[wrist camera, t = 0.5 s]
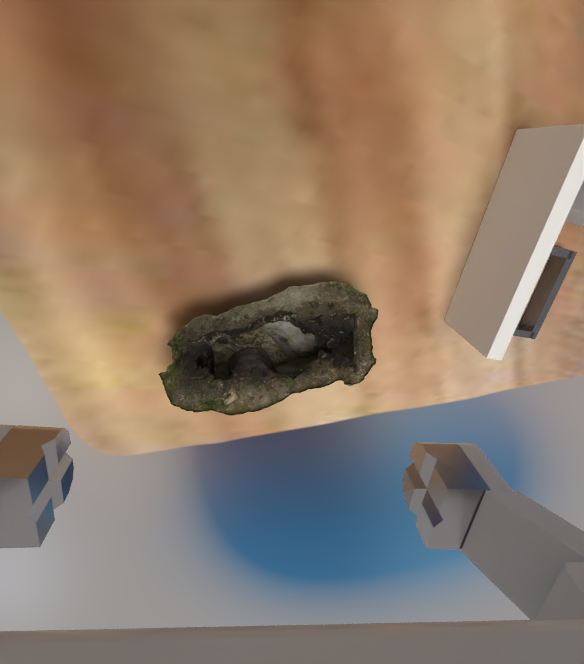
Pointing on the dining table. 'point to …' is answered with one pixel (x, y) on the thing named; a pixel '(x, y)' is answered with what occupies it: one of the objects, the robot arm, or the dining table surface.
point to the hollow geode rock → (271, 349)
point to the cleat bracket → (545, 292)
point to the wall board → (517, 234)
